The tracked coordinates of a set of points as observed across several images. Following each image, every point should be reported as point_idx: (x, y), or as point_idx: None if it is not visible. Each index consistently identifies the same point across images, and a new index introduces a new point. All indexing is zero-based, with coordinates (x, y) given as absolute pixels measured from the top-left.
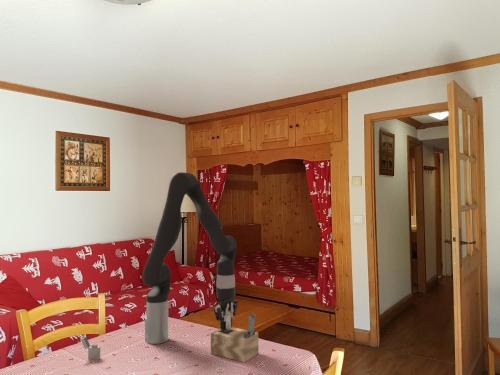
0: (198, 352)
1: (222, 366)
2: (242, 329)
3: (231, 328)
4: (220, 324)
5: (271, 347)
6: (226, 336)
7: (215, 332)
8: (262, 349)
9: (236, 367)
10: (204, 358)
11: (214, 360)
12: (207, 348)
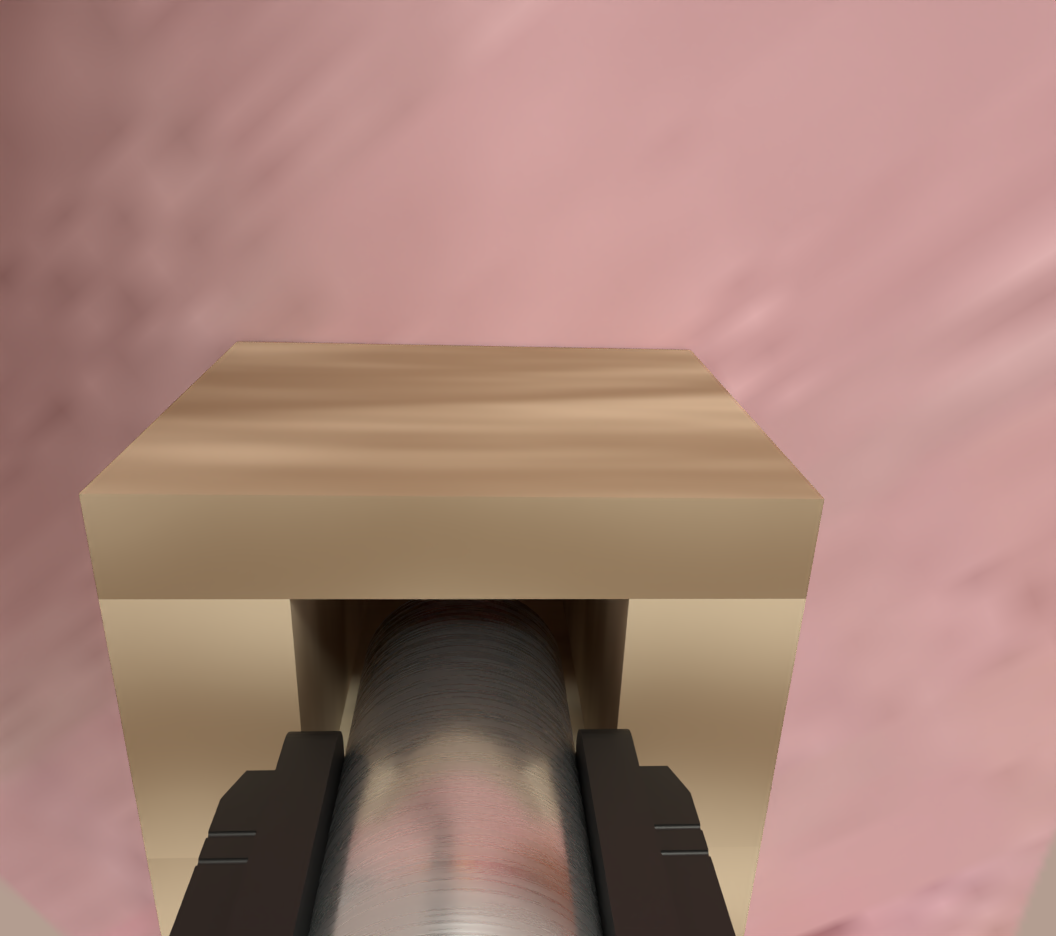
0: (123, 89)
1: (7, 751)
2: (740, 934)
3: (695, 727)
4: (188, 893)
5: (883, 898)
6: (160, 921)
7: (200, 580)
8: (774, 851)
9: (113, 884)
10: (10, 377)
11: (71, 556)
12: (389, 120)
